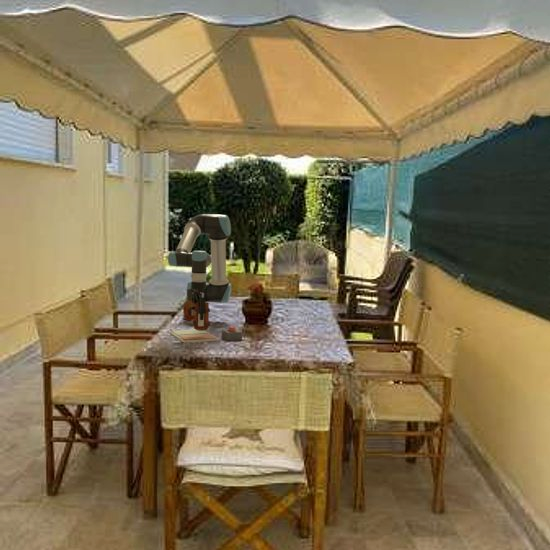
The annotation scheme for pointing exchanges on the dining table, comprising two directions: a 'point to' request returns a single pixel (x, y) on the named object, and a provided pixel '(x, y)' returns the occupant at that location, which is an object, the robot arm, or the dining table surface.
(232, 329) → the button
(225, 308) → the dining table surface
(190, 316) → the mug
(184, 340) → the picture board
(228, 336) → the button base
